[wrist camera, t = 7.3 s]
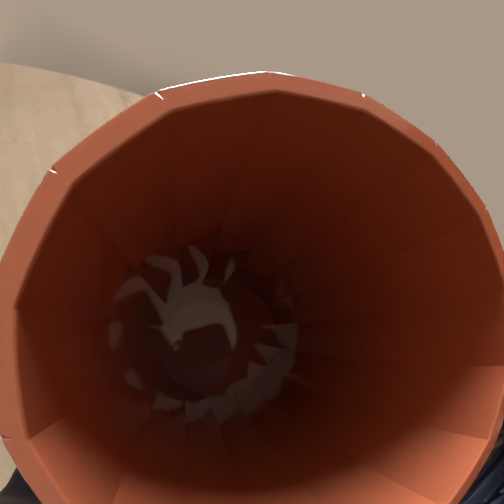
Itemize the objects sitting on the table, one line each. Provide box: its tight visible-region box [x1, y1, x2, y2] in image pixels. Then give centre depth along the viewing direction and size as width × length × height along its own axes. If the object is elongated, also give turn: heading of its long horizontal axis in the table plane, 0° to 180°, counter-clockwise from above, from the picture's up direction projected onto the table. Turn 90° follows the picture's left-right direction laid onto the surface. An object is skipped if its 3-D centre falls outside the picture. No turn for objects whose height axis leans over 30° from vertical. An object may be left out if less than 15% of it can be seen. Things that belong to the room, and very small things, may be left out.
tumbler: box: [0, 71, 504, 504], centre depth 8 cm, size 7×7×13 cm
